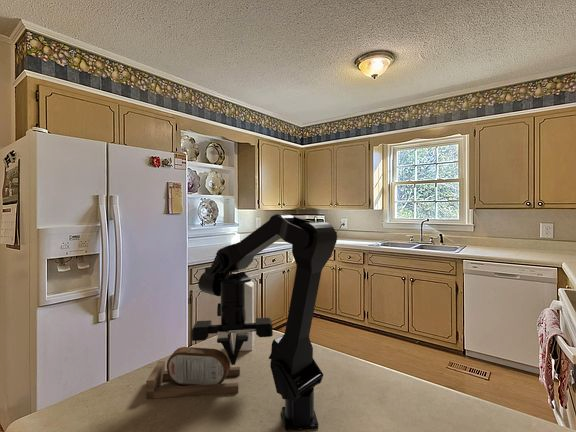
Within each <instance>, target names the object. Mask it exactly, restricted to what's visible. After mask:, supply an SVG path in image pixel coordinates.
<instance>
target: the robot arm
mask: <svg viewBox="0 0 576 432" xmlns="http://www.w3.org/2000/svg"><path fill="white" fill-rule="evenodd" d="M280 239H282V240H283V241H284V242H285V243H288V244H291V245H292V246H291V253H292V256H293V258H294V259H293V260H294V262H295V265H296V267H295V274H294V279H293V284H292V285H293V286H292V290H291V296H290V301H289V307H288V313H287V317H286V318H287V319H286V323H285V324H286V325H285V330H284V334H283V335H281V336H279V337H277V338H275V339H273V340H272V342H271V349H270V350H271V351H270V355H269V356H268V359H269V360H270V370H271V374H272V379H273V383H274V386H275V391H276V393H277V394H278V395H281V399H283V400H284V406H282V407H281V413H282V414H281V415H282V420H283V428H284V430H285V431H297V430H298V431H299V430H306V429H307V430H309V429H318V428H319V421H318V418H317V415H316V411H315V389H314V388H315V387H316V386H317V385H319V384H321V383H322V381H323V378H324V373H323V371H322V370H321V368H320V367H319V365H318V364H317V362H316V360H315V359H314V356H313V355H314V347H313V343H312V342H311V339H310V333H311V328H312V327H311V326H312V322H313V318H314V317H313V316H314V312H315V309H316V308H315V307H316V302H317V296H318V291H319V288H320V287H319V286H320V281H321V275H322V272H323V271H322V270H323V268H325V267H326V266H325V265H326V264H327V263H328V261H329V259H331V257H332V255H333V253H334V252H333V251H334V249H335V246H336V244H337V241H338V233H337V231H336V229H335V228H334V226H333V225H332V224H330V223H329V222H327V221H312V220H307V219H304V218H302V217H301V218H300V217H297V216H294V215H292V214H290V213H275V214H273V215H272V216H271V217H270V218H269V220H267V221H266V222H264V223H263V224H262V225H260V226H259V227H258V228H257V229H255V230H253V231H252V232H251V233H249V235H247V236H246V237H245V238H243V239H242V240H240V241H238V242H236V243H233V244H229V245H226V246H224V247H222V248H220V249H218V250H217V251H216V254H215V257H214V259H213V261H212V264H210V265H211V266H206V267H204V272H203V273H202V274H201V275H200V277H199V279H198V283H197V285H198V290H200V291H201V292H202V293H205V294H209V295H210V296H211V295H212V296H216V297H220V303H219V302H218V303H217V307H216V308H217V309H216V311H217V312H216V315H217V317H220V324H212V320H209V319H208V320H197V321H195V323H194V324H193V326H192V328H191V330H190V333H191V335H190V336H191V337H190V338H191V339H190V340H191V341H193V342H196V341H198V342H200V341H206V340H207V339H208V338H209V335H211V334H212V335H213V334H216V335H217V340H216V342H217V343H218V344H221V345H222V347H223V348H224V350H225V351H226V354H227V358H228V360H229V362H230V363H231V364H230V365H232V366H233V365H234V366H236V362H237V359H238V357H239V354H240V349H241V347H242V345H243V342H246V341H248V334H249V332H253V331H254V332H255V335H256V336H257V337H258V338H270V337H273V336H274V335H273V334H274V332H273V329H274V328H273V322H272V319H271V318H270V317H258V318H256V317H255V322H254V323H245V321H246V312H245V283H246V282H250V281H252V279H251V277H250V276H248V275H247V273H246V272H245V271H243V270H245V269H247V268H248V267H249V266H250V265H251V264H252V263H253V262H254V258H255V256H256V255H258V254H259V253H260V252H263V251H264V250H265V249H267V248H268V247H269V246H272V245H273V244H274V243H276V242H277V241H279V240H280ZM239 271H241V272H239ZM234 332H236V340H235V349H234V351H233V346H232V333H234Z"/></svg>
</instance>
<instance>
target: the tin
mask: <svg viewBox="0 0 576 432" xmlns="http://www.w3.org/2000/svg"><path fill="white" fill-rule="evenodd" d="M230 363H231V362H230V359H229V357H228V355H226V354H225V353H224V352H223V351H221V350H220V349H216V348H205V347H193V346H192V347H191V346H182V347H179V348H177V349H176V350H175V351H173V353H171V355H170V356H169V357H168V359H167V363H166V371H167V372H168V375H169V377H170V378H171V379H172V380H171V381H173V383H175V384H178V385H180V386H191V385H207V384H223V382H224V381H225V380H226V378H227V377H228V376H227V375H228V373H229V371H230V367H231V364H230Z"/></svg>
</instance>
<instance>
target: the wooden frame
mask: <svg viewBox="0 0 576 432" xmlns="http://www.w3.org/2000/svg"><path fill="white" fill-rule="evenodd" d="M240 375H241V366H230V371H229V373H228V375H227V377H235V376H236V377H237V376H240ZM164 381H173V380H172V379H171V378H170V377H169V375H168V372H167V370H166V360H161V361H160V360H158V362H157V363H156V365H155V366H154V368H153V369H152V371H151V373H150V374H149V376H148V377H147V379H146V381H145V384H146V388H145V389H146V393H145V394H146V399H147V400H148V399H162V398H177V397H178V398H179V397H192V396H193V397H195V396H208V395H210V396H211V395H221V394H222V395H224V394H236V393H237V394H239V390H240V389H239V386H240V384H239V382H228V383H227V382H226V383H225V382H224V383H223V382H222V383H221V384H207V385H180V386H178V385H177V386H175V385H174V386H163V387H161V385H162V384H163V382H164Z"/></svg>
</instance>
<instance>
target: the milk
mask: <svg viewBox="0 0 576 432" xmlns="http://www.w3.org/2000/svg"><path fill="white" fill-rule="evenodd" d="M245 312H246V321H245V323H255V282H253V281H252V280H251V281H250V282H246V283H245ZM231 336H232V346H233V352H234V349H235V340H236V332H234V333H231ZM254 346H255V331H253V332H249V334H248V341H246V342H243V345H242V347H241V349H240V351H241V352H242V351H244V352H245V351H249V352H250V351H253V350H254ZM240 351H239V352H240Z"/></svg>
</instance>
